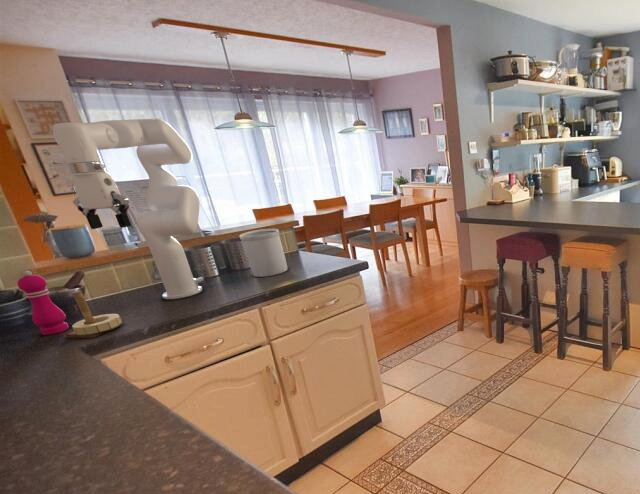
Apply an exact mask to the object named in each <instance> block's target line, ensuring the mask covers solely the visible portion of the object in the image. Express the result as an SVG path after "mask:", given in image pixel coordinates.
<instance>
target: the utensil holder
mask: <svg viewBox="0 0 640 494" xmlns="http://www.w3.org/2000/svg"><path fill="white" fill-rule="evenodd" d="M238 236H239V239H240V241H241V243H242V247H243V251H244V252H245V256H246V258H247V261H248V262H247V263H248V265H249V267H250V271H251V273H252V275H253V276H254V277H257V278H264V277H271V276H276V275H279V274H282V273H283V274H284V273H285V272H287V271H288V264H287V259H286V255H285V252H284V247H283V244H282V243H283V242H282V241H281V240H282V239H281V236H280V230H279V229H278V228H263V229H256V230H251V231H250V230H249V231H247V232H243V233H241V234H239V235H238Z"/></svg>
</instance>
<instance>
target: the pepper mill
mask: <svg viewBox="0 0 640 494" xmlns="http://www.w3.org/2000/svg"><path fill="white" fill-rule="evenodd" d="M22 275H23V277H20V278H19V279H18V281H17V287H18V289H19V290H21V291H23V292H24V295H25V298H28V299H29V301H30V303H31V305H32V313H31V320H32V322H33V324H34V325H35V326H36V327H40V328H39V331H40V333H41V335H42V336H49V335H55V334H58V333H59V334H60V333H62V332H65V331H67V330H69V328H70V327H69V325H68V323H67V322H66V321H65V320H66V318H67V316H66V314H65V312H64V311H63V310H62V309H61V308H59V307H58V306H57V305H56V304H55V303H54V302H53V301H52V299H51V298H50V296H49V294H50V291H49V290H48V288H46V287H47V286H48V284H47V283H48V282H47V280H46V278H44V277H43V276H41V275H37V274H33V273H32V271H30V270H24V271H23V272H22Z"/></svg>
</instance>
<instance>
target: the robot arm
mask: <svg viewBox="0 0 640 494" xmlns="http://www.w3.org/2000/svg"><path fill="white" fill-rule="evenodd" d="M52 130H53V131H52V135H53V139H54V141H55V142H56V143H57V145H58V146H59V147H60V149H61V152H62V154H63V157H64V160H65V161H66V163H67V166H68V168H69V170H70V173H71V179H72V180H71V181H72V184H73V187H74V189H75V193H76V196H77V197H75V198H74V199H73V200H72V203H73V204H74V206H75V207H76V208H77V210H78V211H79V212H81V214H82V216H84V217H85V218H86V220H87V223H88V225H89V227H90V229H91V230H96V229H97V230H98V229H101V228H103V223H102V221H101V218H100V216H99V214H98V213H96V212H97V210H102V209H104V210H105V209H111V210H112V211H113V212H114V213H115V214H114V215H115V218H116V221H117V223H118V227H119V228H120V229H122V228H123V229H124V228H129V227H132V224H131V221H130V218H129V216H128V212H129V211H128V210H129V208H130V206H129V202H130V201H129V200H130V199H129V197H126V196H125V195H122V194H121V191H120V189H119V187H118V185H117V183H116V182H115V180H114V178H113V176H112V175H111V173H110V172H107V170H106V165H105V164H104V163H103V160H102V157H101V155H100V152H99V151H103V150H111V149H113V150H116V149H128V148H135V147H136V150H135V151H136V156H137V158H138V160H139V162H140V164H141V165H142V168H143V169H144V171H145V172H146V175H147V176H148V184H147V185H148V186H147V192H146V201H145V202H146V206H147V208H148V209H149V211H144V212H142V213H140V214H138V216H136V227H137V229H138V230H139V232H140V233H141V236H142V237H143V238H144V240H145V242H146V243H147V246H148V248H149V250H150V253H151V257H152V258H153V261H154V263H155V266H156V269H157V272H158V274H159V276H160V280H161V282H162V285H163V287H164V289H165V292H163V294H162V296H161V297H162V299H164V300H177V299H178V300H179V299H183V298H188V297H191V296H194V295H197V294H199V293H201V292H203V287H202V286H200V285H199V284H200V283H203V282H204V281H205V278H204V277H203V276H200V277H197V278H195V277H194V276H193V273H192V270H191V267H190V264H189V261H188V259H187V256H186V253H185V250H184V247H183V245H182V244H181V243H180V242H179V241H178V240H177V239H176V238H174V237H180V236H181V237H182V236H188V235H193V234H194V233H196V231H197V230H198V226H199V225H198V223H199V215H200V198H199V195H198V193H197V191H196V190H195V189H194V188H193V187H192V186H189V185H187V184H186V185H185V184H180V185H179V182H178V179H177V177H176V175H174V174H173V173H172V172H171V171H169V170H168V169H166V168H165V167H164V166H178V165H179V166H180V165H187V164H189V163H191V162H192V160H193V152H192V149H191V148H190V146H189V144H188V143H187V142H186V141H185V140H184V139H183V137H182V136H181V135H180V134H179V133H178V132H177V130H176V129H174V128H173V126H172V125H170V123H168V122H167V121H165V120H164V119H162V118H139V119H136V118H135V119H134V118H133V119H111V120H110V119H109V120H100V121H94V122H57V123H54V124H53V125H52Z"/></svg>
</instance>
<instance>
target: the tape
mask: <svg viewBox="0 0 640 494" xmlns="http://www.w3.org/2000/svg"><path fill="white" fill-rule="evenodd" d="M93 318H94V320H95V322H96V323H94V324H86V321H85V319H84V318H83V319H81V320H78V321H76V322H74V323H73V324H72V326H71V327H72V330H73V331H74V332H75V333H76V334H77V335H87V334H94V333H98V332H102V331H106V330H109V329H112V328H114V327H116V326H118V325H120V324H121V325H122V323H123V320H122V318H121V316H120V315H119V314H117V313H105V314H99V315H96V316H93ZM116 328H117V327H116ZM114 329H115V328H114ZM112 330H113V329H112Z"/></svg>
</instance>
